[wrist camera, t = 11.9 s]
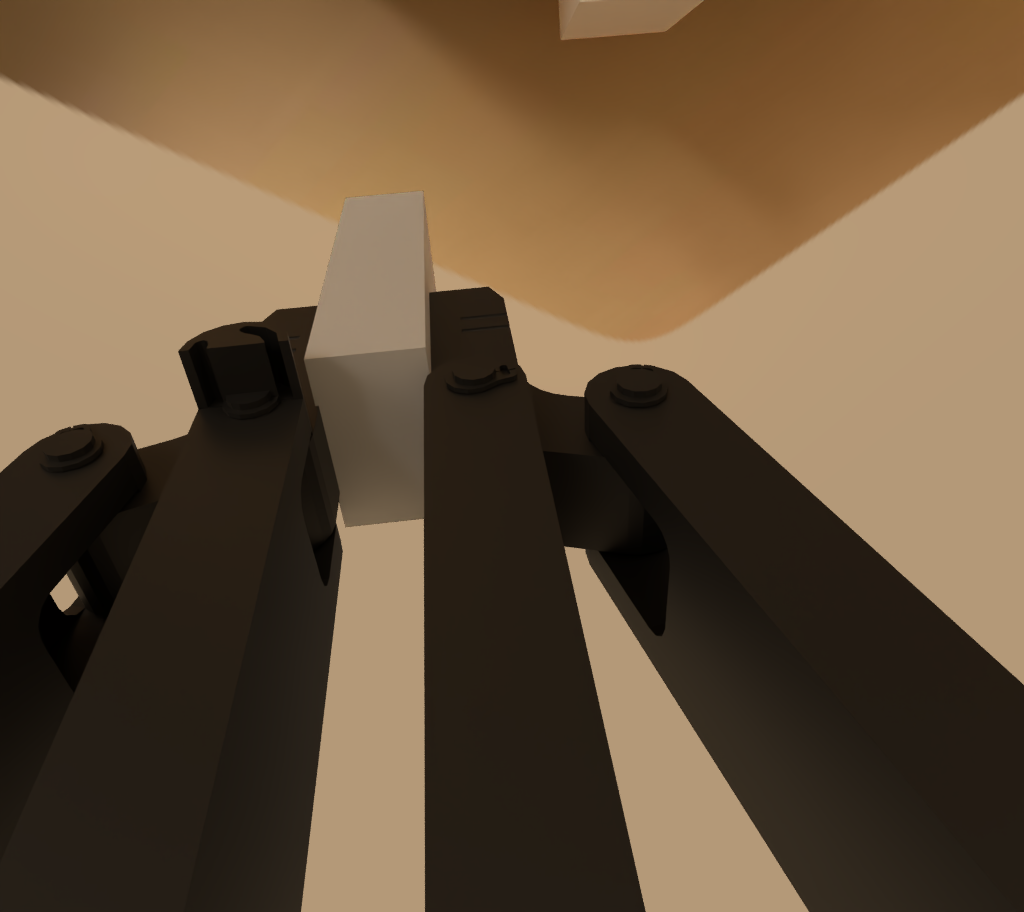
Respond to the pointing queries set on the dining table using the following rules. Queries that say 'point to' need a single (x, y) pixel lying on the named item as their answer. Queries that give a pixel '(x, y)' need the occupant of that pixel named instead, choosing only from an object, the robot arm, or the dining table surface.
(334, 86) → the dining table surface
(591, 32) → the middle button
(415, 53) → the dining table surface
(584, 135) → the dining table surface
